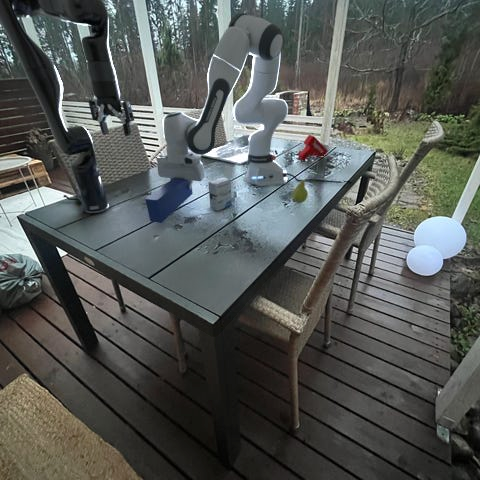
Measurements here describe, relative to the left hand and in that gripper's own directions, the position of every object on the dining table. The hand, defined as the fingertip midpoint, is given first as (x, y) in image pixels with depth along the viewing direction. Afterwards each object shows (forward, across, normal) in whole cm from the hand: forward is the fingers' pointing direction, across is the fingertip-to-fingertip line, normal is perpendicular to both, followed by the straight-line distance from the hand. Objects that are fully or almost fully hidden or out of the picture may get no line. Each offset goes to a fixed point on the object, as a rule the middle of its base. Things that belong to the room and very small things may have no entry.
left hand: (117, 134), depth 92 cm
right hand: (+25, +12, +18) cm, 33 cm away
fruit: (+32, +62, +33) cm, 77 cm away
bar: (+29, +12, +9) cm, 33 cm away
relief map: (+32, +10, +98) cm, 104 cm away
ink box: (+32, +29, +19) cm, 48 cm away
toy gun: (+32, +64, +102) cm, 125 cm away
